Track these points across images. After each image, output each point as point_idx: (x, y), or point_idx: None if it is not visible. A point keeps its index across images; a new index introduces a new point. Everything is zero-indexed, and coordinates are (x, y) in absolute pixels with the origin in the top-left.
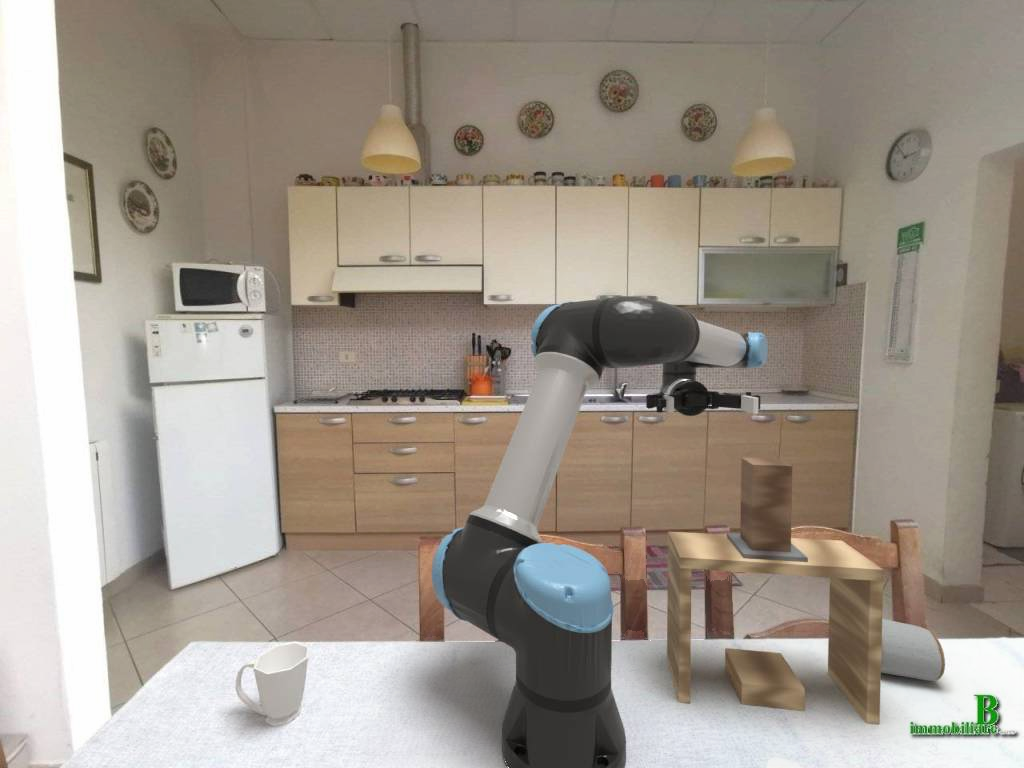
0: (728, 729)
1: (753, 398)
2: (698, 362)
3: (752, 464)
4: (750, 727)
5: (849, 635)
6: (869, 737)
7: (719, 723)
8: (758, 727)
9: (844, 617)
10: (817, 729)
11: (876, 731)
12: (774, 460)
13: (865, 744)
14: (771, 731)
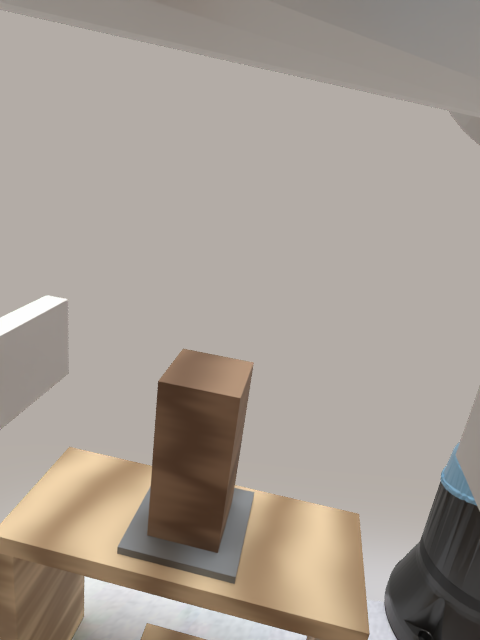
0: (262, 626)
1: (67, 303)
2: (326, 77)
3: (252, 364)
4: (234, 626)
5: (58, 590)
6: (104, 597)
7: (269, 636)
8: (224, 625)
9: (50, 588)
10: (154, 614)
11: (86, 604)
12: (181, 373)
13: (119, 589)
14: (212, 618)
